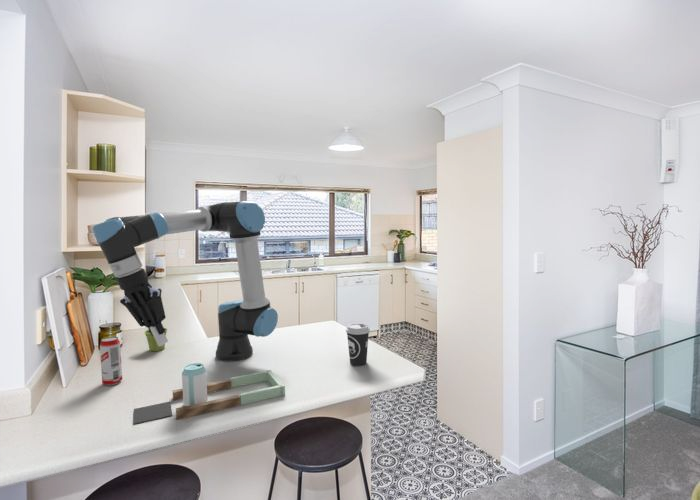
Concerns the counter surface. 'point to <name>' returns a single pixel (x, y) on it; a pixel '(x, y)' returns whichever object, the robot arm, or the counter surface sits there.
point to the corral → (259, 394)
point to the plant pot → (154, 341)
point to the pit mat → (152, 412)
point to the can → (194, 384)
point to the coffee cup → (358, 343)
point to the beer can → (111, 361)
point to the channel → (209, 405)
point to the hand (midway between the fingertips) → (163, 343)
